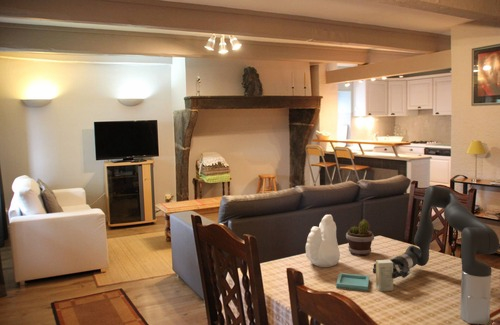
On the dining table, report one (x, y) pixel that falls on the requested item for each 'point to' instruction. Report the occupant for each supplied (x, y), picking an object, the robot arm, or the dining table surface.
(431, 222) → the robot arm
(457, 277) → the dining table surface
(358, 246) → the flowerpot
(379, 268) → the skincare box
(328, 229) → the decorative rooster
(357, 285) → the teal tray
